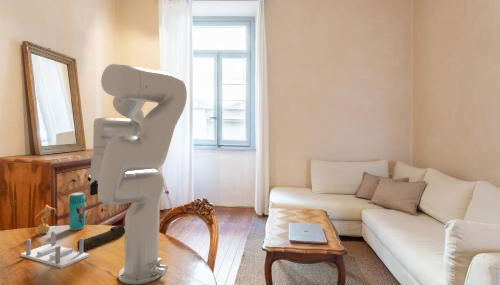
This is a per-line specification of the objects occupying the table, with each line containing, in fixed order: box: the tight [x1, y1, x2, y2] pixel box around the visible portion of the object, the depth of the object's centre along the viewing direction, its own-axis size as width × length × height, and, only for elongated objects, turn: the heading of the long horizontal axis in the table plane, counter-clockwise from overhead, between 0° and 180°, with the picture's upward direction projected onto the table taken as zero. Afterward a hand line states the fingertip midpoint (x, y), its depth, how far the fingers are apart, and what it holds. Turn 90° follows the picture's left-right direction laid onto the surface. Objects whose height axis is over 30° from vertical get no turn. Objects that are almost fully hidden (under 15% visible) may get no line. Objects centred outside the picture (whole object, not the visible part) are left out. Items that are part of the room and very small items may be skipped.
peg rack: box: [20, 231, 90, 269], centre depth 94 cm, size 20×9×6 cm, turn 69°
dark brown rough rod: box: [76, 224, 125, 252], centre depth 107 cm, size 19×4×5 cm, turn 153°
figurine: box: [33, 204, 58, 235], centre depth 113 cm, size 8×6×12 cm
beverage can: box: [68, 191, 86, 231], centre depth 120 cm, size 6×6×15 cm
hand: (103, 196), depth 107 cm, fingers open, 9 cm apart
